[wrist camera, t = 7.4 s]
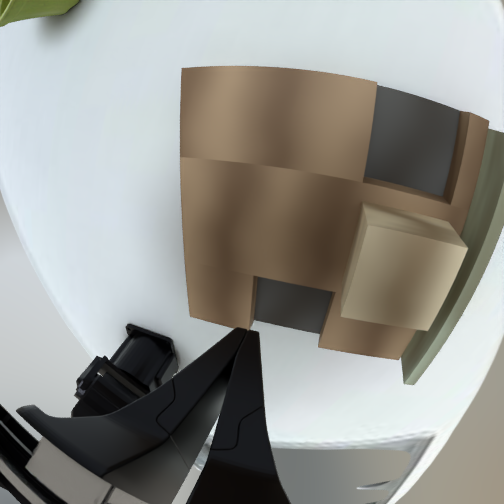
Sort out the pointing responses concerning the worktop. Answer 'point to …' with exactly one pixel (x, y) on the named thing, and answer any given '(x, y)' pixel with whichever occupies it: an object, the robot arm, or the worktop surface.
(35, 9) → the plant pot
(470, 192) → the board
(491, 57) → the worktop surface
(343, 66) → the worktop surface
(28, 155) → the worktop surface
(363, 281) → the birch block
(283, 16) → the worktop surface
